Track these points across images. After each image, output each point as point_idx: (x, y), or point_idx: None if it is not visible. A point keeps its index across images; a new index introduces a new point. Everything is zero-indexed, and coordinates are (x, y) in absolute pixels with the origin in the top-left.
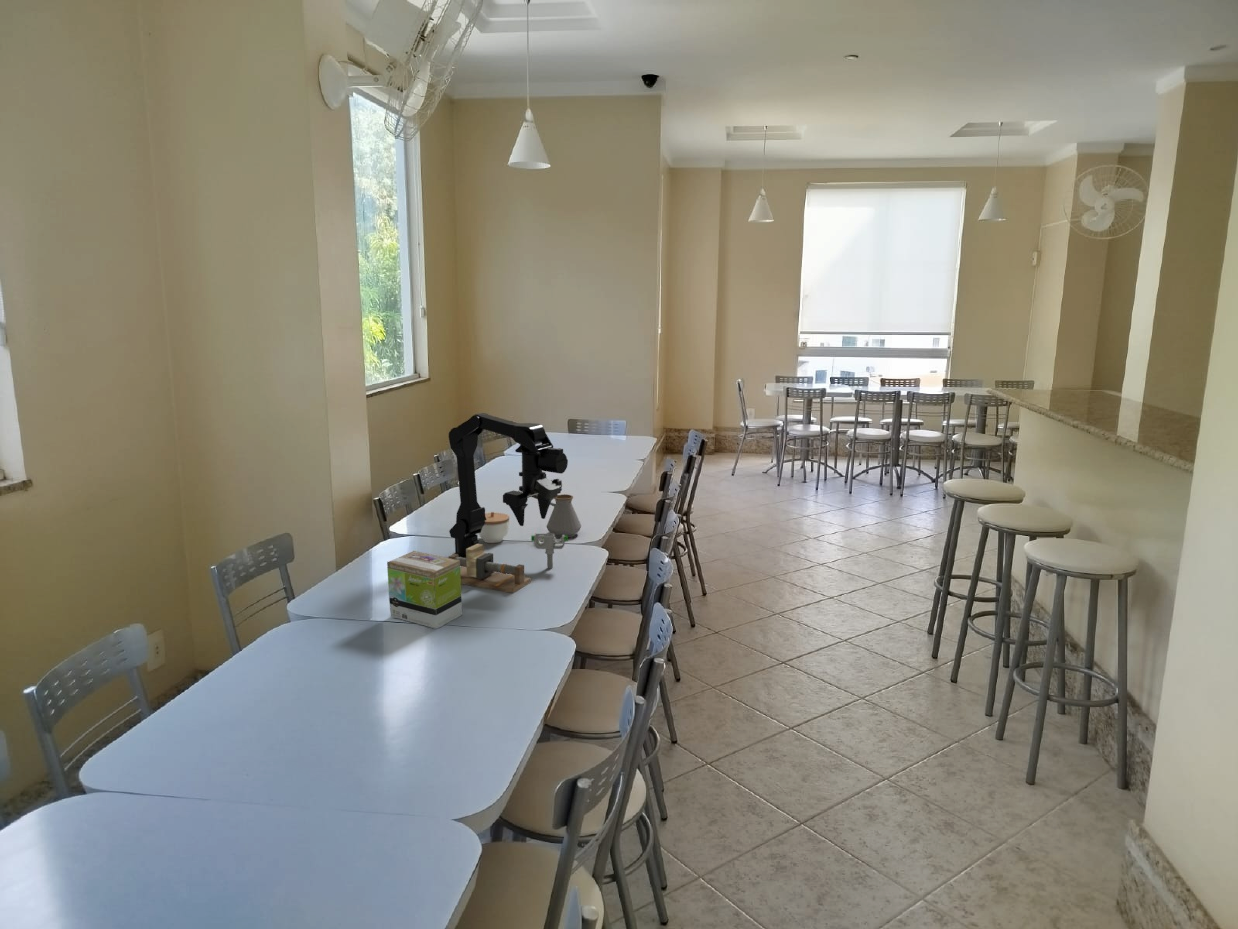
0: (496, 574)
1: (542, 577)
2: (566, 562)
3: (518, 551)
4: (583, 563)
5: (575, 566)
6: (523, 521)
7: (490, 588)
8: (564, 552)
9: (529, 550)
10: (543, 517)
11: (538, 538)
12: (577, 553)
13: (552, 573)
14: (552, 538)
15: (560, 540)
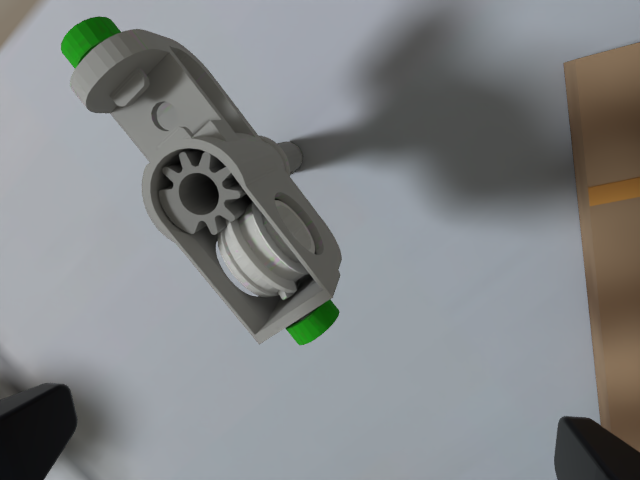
0: (636, 292)
1: (440, 73)
2: None
3: (217, 448)
4: None
5: None
6: (628, 472)
7: None
8: (70, 268)
9: (172, 417)
10: (54, 405)
11: (307, 251)
12: (30, 204)
13: (345, 77)
14: (209, 139)
15: (144, 106)
